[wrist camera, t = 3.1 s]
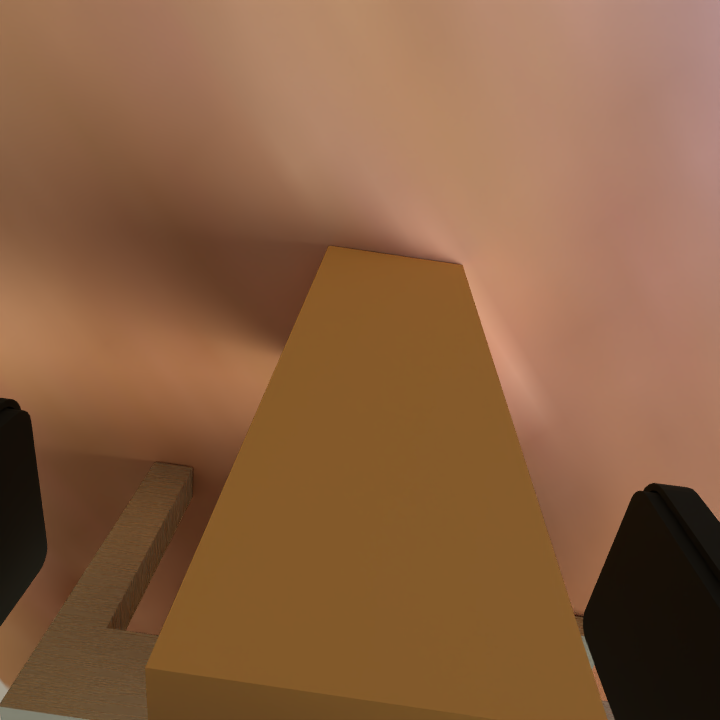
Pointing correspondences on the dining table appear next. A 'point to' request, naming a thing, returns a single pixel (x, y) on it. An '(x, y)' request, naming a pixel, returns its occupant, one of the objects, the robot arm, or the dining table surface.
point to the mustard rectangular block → (376, 530)
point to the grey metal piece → (112, 618)
